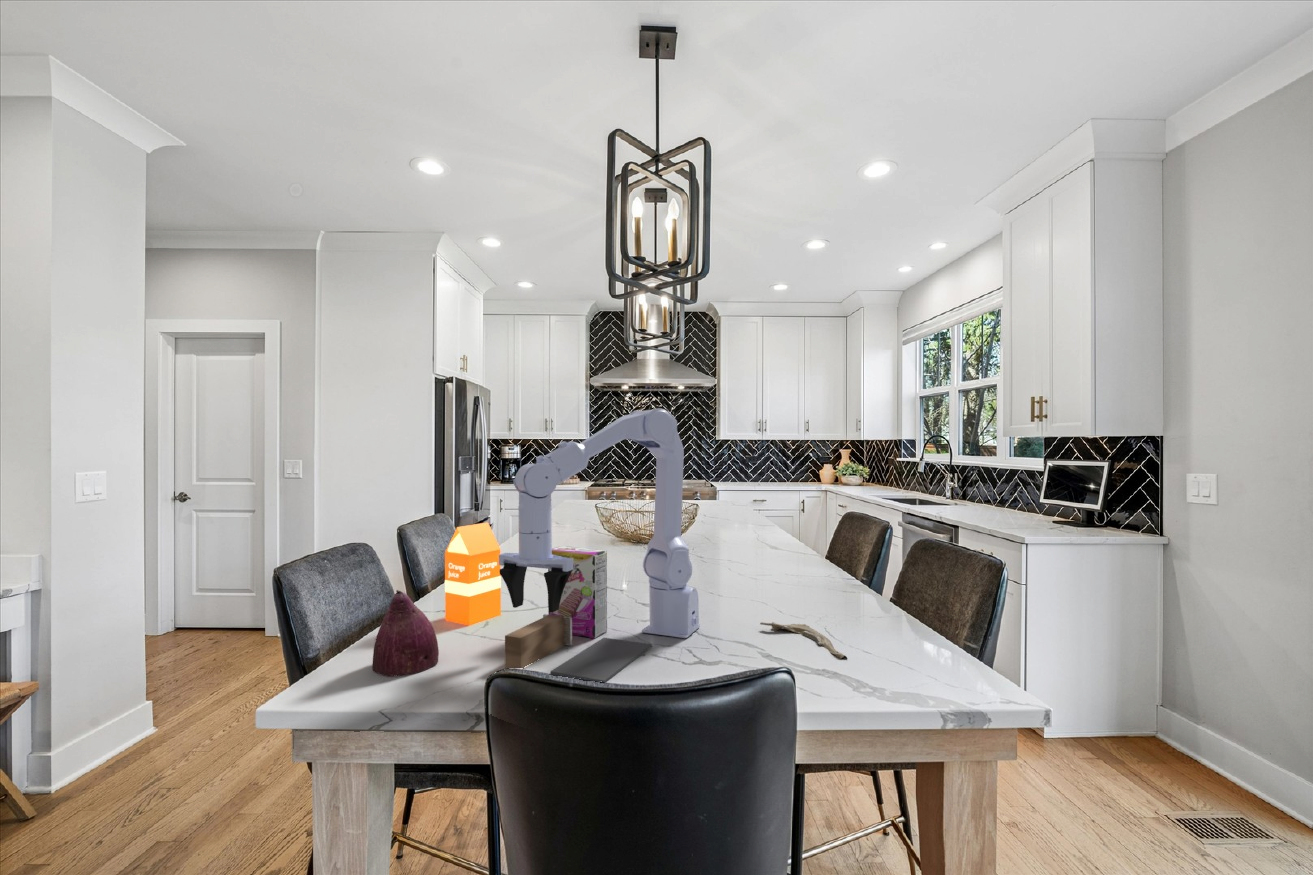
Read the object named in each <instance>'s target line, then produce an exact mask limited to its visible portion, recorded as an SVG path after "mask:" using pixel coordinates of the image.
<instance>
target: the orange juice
mask: <svg viewBox="0 0 1313 875" xmlns="http://www.w3.org/2000/svg"><path fill="white" fill-rule="evenodd" d="M499 554H501V547H500V545H499V543H498V540H497V539H496V537H495V534H494V532H493V530H492V528H491V526H490V524H489V522H481V523H475V524H469V525H462V526H457V527H456V530H455V531H454V534H453V536H452V538H451V539H450V541H449V544H448V545H447V548H446V549H445V551H444V599H445V601H444V603H445V608H444V609H445V610H444V611H445V612H444V613H445V616H444V619H445V621H447V622H452V623H456V624H461V625H465V626H472V625H475V624H478V623H479V624H480V623H482V622H484V621H488V620H490V619H494V618H496V617H499V616H502V598H501V596H502V591H501V589H502V576H501V575H500V573H499V570H500V569H502V568H501V566H502V565H499Z"/></svg>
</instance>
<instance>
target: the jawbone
mask: <svg viewBox="0 0 1313 875" xmlns="http://www.w3.org/2000/svg"><path fill="white" fill-rule="evenodd" d="M759 625H763V626H768V627H769V626H770V627H771V628H772V629H773V630H774V631H776V630H777V631H779V630H781V629H784V630H787V631H790V632H792V633H795V634H800V635H802V636H804V637H806V638H809V639H811V640H812V641H815V642H816V643H817V644H818V645H819V646H822V647H823V648H824V649H826V650H827V651H828V652H829V653H831V654H832V655H834V656H835V657H837V658H839V659H841V660H848V657H847V655H844V654H843V653H841V652H840V651H837V650H836V649H835V648H834V645H833V643H832V642H831V640H830V639H829V638H828V637H826V636H825V635H823V634H821V633H820V632H819V631H817V630H815V629H813V628H811V627H810V626H809V625H807V624H805V623H804V624H803V623H802V624H800V623H790V624H779V623H776V622H774V621H773V622H760V623H759Z"/></svg>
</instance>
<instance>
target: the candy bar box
mask: <svg viewBox="0 0 1313 875" xmlns="http://www.w3.org/2000/svg"><path fill="white" fill-rule="evenodd" d="M607 552H608V551H607V550H605V549H594V548H584V547H575V546H565V545H561V546H556V547H552V555H556V556H561V557H566V558H573V570H572V572H571V575H570V577H569V579H568V581H567V583H566V585H565V587H564V590H563V593H562V596H561V600H560V605H559V610H557V611H555V612H549V609H548V610H547V612H548V615H556V616H563V617H571V618H572V636H577V637H584V638H588V639H598V637H600V636H602V635H604V634H606V633H607V632H608V611H607V610H608V601H607V600H608V594H607V593H608V585H607V581H608V580H607V579H608V577H607V576H608V573H607V571H608V564H607V561H608V559H607V557H608V556H607V554H608V553H607ZM549 571H551V569H548V570H547V572H549Z"/></svg>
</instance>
